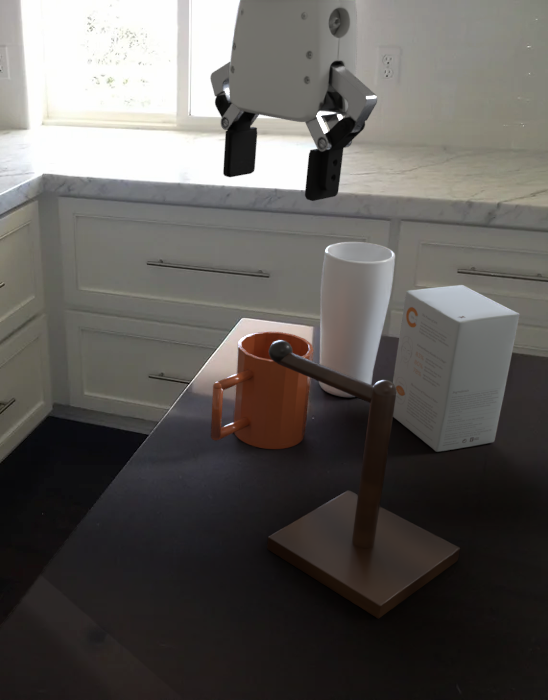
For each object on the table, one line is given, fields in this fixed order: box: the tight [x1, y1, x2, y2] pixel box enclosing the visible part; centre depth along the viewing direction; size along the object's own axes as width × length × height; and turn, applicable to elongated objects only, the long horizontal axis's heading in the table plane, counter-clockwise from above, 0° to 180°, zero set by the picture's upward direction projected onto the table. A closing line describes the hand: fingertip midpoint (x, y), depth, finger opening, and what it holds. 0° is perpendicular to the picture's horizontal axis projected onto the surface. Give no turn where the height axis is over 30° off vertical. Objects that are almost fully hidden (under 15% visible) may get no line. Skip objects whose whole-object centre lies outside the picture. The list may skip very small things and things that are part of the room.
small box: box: [392, 284, 520, 453], centre depth 80 cm, size 8×6×13 cm
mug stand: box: [266, 340, 461, 619], centre depth 65 cm, size 10×15×15 cm, turn 38°
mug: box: [210, 331, 314, 450], centre depth 80 cm, size 11×7×9 cm, turn 128°
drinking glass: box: [318, 241, 396, 398], centre depth 88 cm, size 7×7×15 cm
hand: (277, 185), depth 73 cm, fingers open, 9 cm apart
